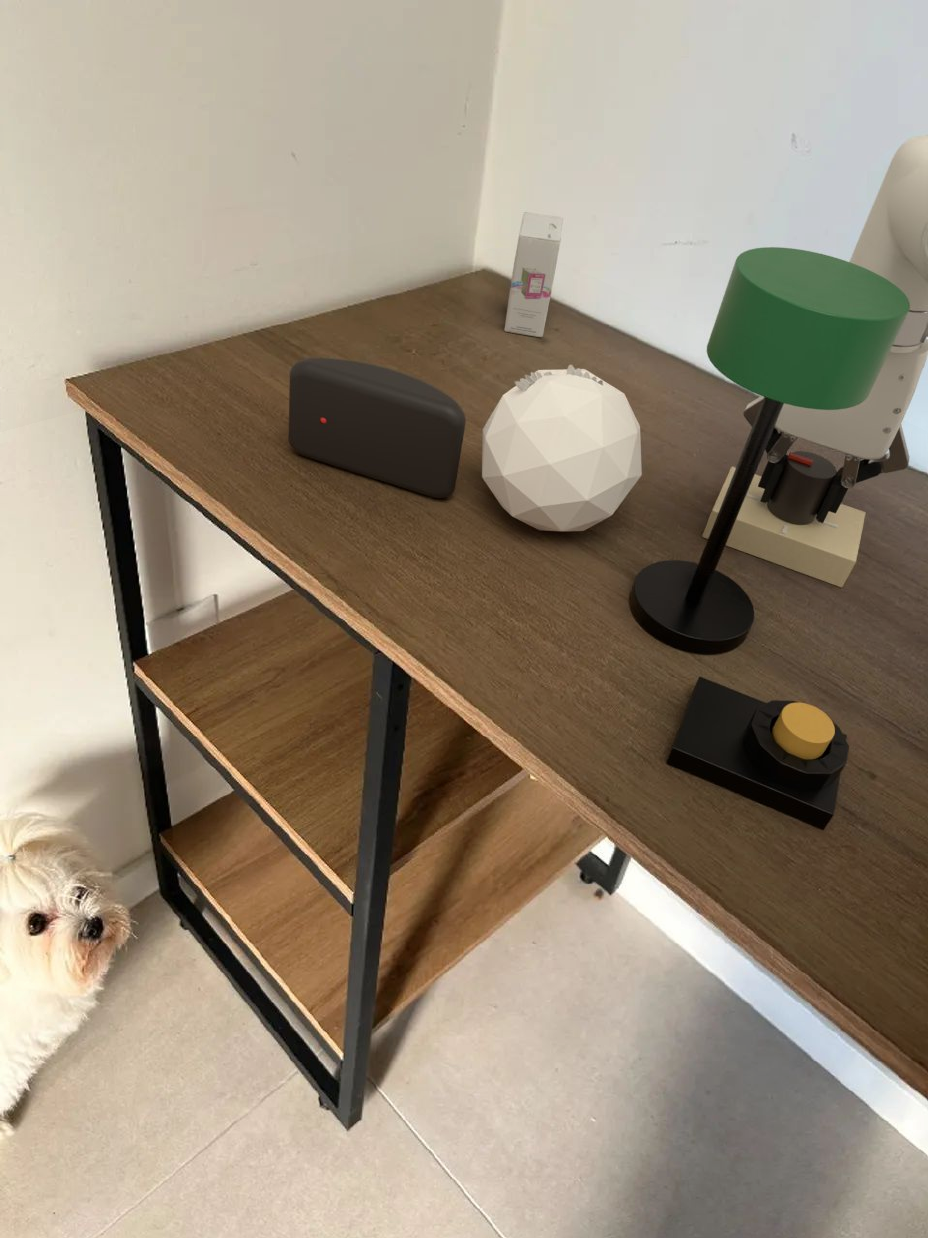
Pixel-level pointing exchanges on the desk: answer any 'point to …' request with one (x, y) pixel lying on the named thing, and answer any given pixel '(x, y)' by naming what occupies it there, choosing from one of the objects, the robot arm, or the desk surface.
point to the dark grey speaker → (376, 424)
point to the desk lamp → (771, 410)
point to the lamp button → (803, 730)
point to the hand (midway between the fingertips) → (794, 503)
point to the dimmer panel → (794, 536)
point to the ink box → (533, 274)
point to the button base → (755, 754)
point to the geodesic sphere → (561, 450)
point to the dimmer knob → (801, 487)
